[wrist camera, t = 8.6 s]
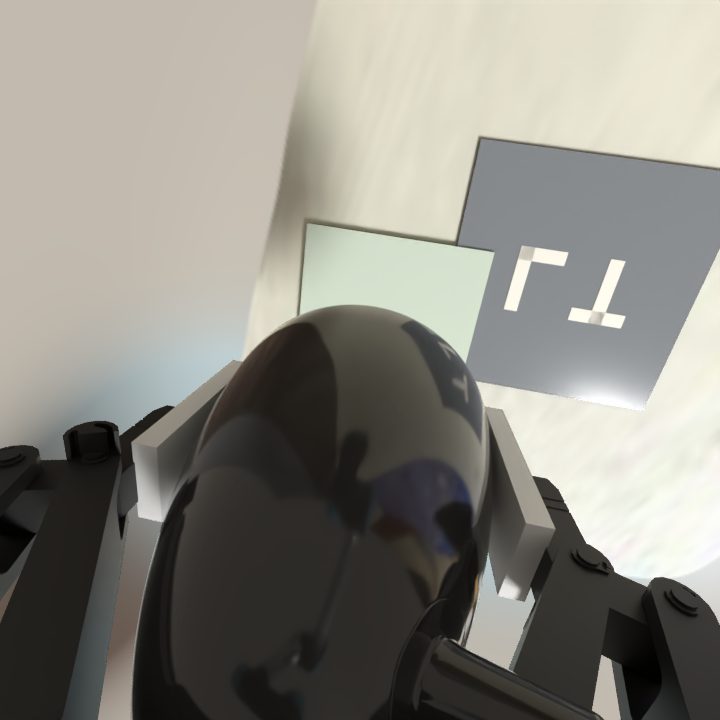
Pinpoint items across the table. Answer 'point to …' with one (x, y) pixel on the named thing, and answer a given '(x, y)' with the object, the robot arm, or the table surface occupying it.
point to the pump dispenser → (331, 540)
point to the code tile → (585, 268)
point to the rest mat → (397, 279)
